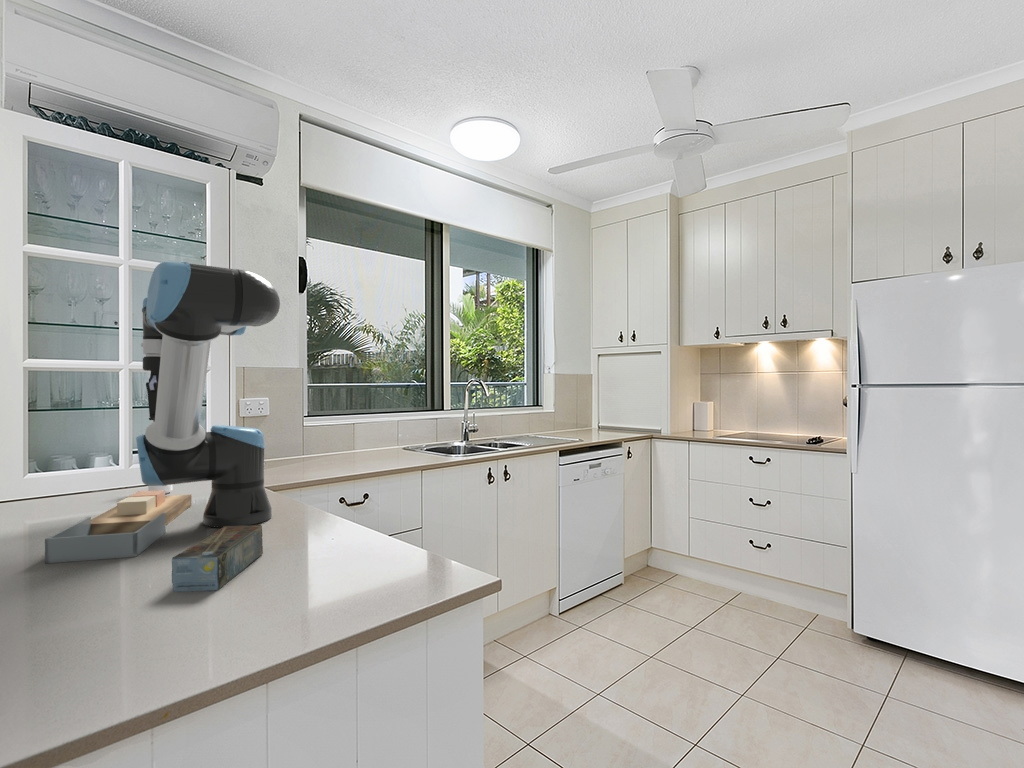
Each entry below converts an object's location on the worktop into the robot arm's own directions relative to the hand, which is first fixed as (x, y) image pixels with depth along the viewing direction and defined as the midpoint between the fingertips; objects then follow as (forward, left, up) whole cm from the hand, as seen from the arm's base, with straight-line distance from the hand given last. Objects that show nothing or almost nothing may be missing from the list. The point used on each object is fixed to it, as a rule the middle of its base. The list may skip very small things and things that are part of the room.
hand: (159, 444), depth 146 cm
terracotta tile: (0, +9, -14) cm, 17 cm away
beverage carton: (-27, +56, -18) cm, 65 cm away
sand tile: (0, +16, -14) cm, 22 cm away
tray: (-2, +35, -17) cm, 39 cm away
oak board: (0, +12, -17) cm, 21 cm away
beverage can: (+6, -22, -18) cm, 29 cm away
